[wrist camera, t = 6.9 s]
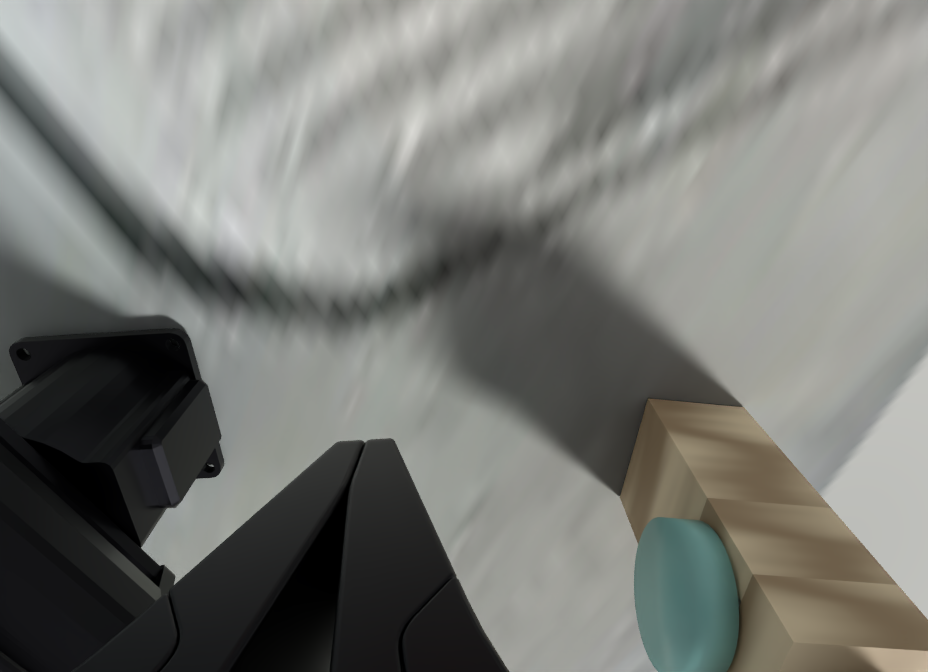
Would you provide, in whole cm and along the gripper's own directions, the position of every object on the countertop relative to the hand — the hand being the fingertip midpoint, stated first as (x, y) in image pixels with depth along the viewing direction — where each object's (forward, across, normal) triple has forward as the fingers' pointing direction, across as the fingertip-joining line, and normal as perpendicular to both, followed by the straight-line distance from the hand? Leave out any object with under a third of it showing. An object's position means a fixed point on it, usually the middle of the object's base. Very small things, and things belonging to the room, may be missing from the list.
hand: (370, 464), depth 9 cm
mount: (+13, -10, +10) cm, 19 cm away
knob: (+8, -10, +10) cm, 16 cm away
